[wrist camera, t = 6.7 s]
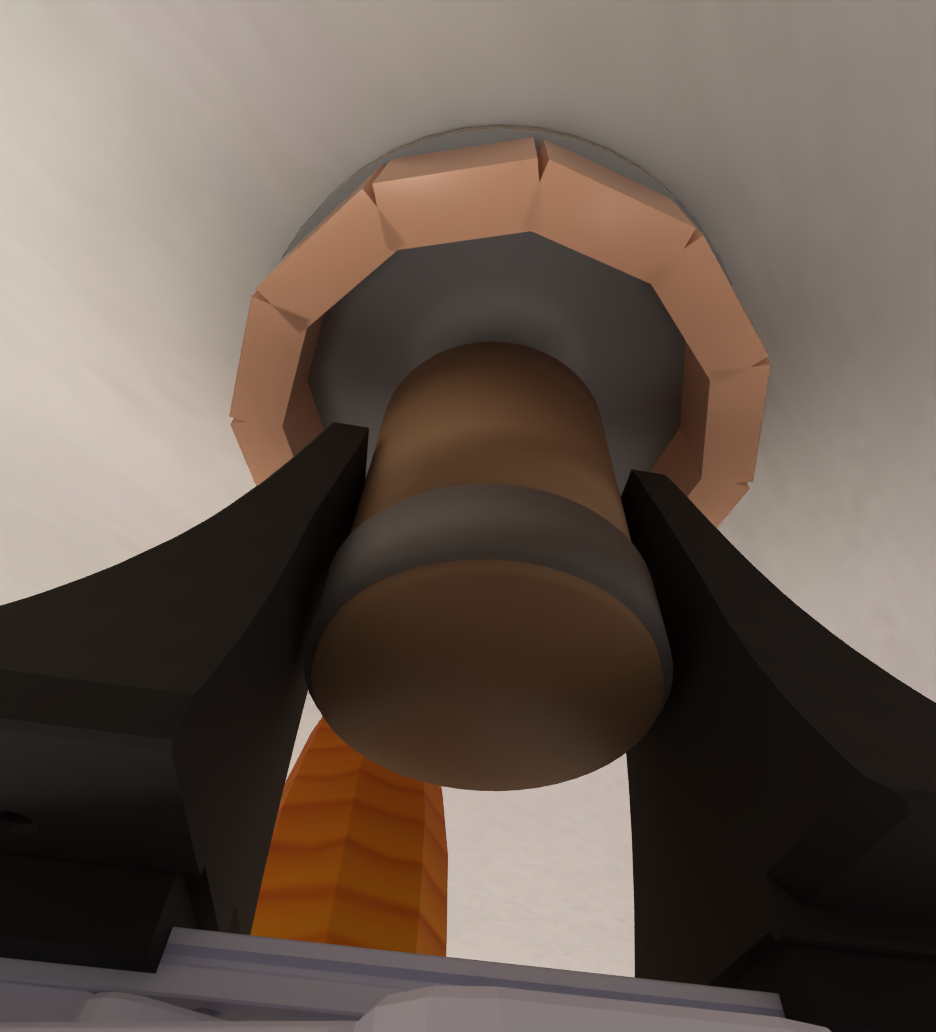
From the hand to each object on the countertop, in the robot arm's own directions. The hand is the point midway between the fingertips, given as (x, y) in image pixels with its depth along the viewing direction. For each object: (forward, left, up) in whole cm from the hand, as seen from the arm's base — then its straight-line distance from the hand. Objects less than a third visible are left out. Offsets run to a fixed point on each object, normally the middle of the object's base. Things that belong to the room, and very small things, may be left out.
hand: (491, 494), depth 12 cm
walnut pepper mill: (0, 0, -2) cm, 2 cm away
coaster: (0, 0, -4) cm, 4 cm away
